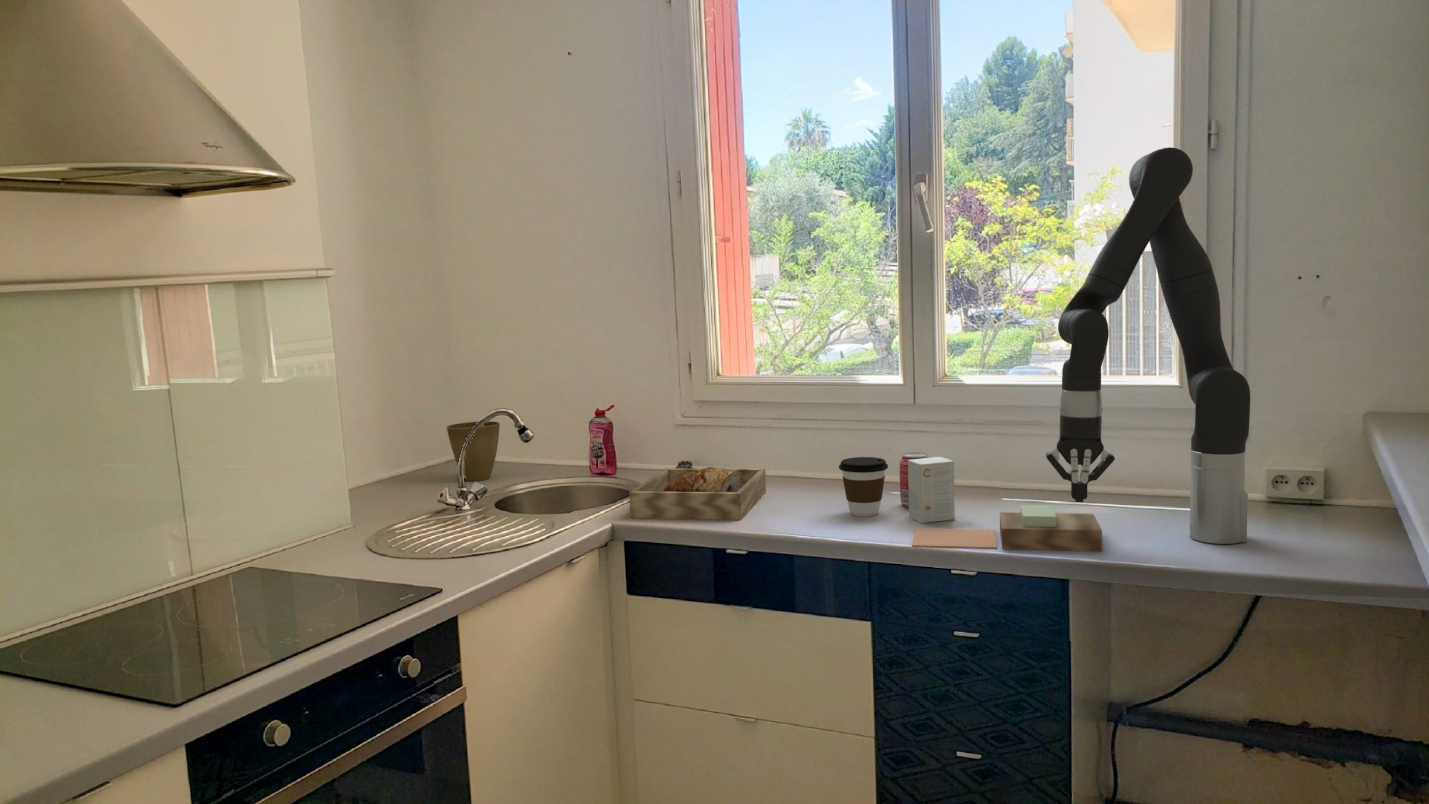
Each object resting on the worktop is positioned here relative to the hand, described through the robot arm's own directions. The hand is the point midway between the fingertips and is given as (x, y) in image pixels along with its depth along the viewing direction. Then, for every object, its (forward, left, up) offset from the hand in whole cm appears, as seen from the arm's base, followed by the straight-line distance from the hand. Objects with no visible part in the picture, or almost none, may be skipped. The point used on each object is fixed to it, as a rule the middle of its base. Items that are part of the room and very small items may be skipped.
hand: (1078, 501), depth 189 cm
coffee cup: (+44, -20, -8) cm, 49 cm away
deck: (+6, 0, -8) cm, 10 cm away
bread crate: (+84, -26, -8) cm, 88 cm away
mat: (+24, 0, -8) cm, 25 cm away
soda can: (+33, -28, -8) cm, 44 cm away
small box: (+29, -16, -8) cm, 34 cm away
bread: (+83, -25, -8) cm, 87 cm away
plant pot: (+159, -54, -8) cm, 168 cm away
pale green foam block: (+8, 0, -4) cm, 9 cm away
